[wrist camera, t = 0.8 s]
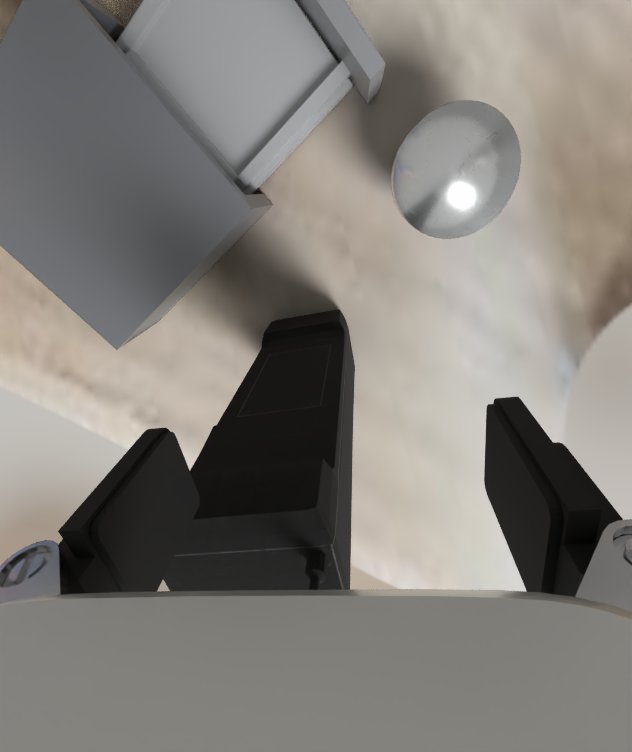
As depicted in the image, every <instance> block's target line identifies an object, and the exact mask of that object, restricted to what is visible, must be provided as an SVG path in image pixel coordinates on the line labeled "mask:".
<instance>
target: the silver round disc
mask: <svg viewBox="0 0 632 752" xmlns="http://www.w3.org/2000/svg"><path fill="white" fill-rule="evenodd" d="M520 163H521V154H520V146H519V141H518V138H517V135H516V132H515V130H514V128H513V126H512V125H511V123H510V122H509V120H508V119H507V118H506V117H505V116H504V115H503V114H502V113H501V112H500V111H499V110H497V109H496V108H494V107H492V106H490V105H488V104H486V103H482V102H479V101H472V100H464V101H456V102H452V103H449V104H446V105H443V106H441V107H439V108H437V109H435V110H434V111H432V112H430V113H429V114H427V115H426V116H425V117H424V118H423V119H422V120H420V121H419V122H418V123H417V125H416V126H415V127H414V128H413V129H412V130H411V131H410V132H409V133H408V135H407V136H406V137H405V139H404V140H403V142H402V144H401V145H400V147H399V149H398V151H397V154H396V156H395V159H394V163H393V167H392V174H391V188H392V195H393V198H394V202H395V204H396V206H397V209H398V210H399V212H400V214H401V215H402V217H403V218H404V219H405V220H406V221H407V222H408V223H409V224H410V225H411V226H413V227H414V228H416V229H417V230H419V231H420V232H422V233H424V234H426V235H428V236H432V237H435V238H442V239H452V238H459V237H463V236H466V235H469V234H472V233H474V232H476V231H478V230H480V229H481V228H483V227H484V226H486V225H487V224H488V223H490V222H491V221H492V220H493V219H494V218H495V217H496V216H497V215H498V214H499V213H500V212H501V211H502V209H503V208H504V207H505V205H506V204H507V202H508V201H509V199H510V197H511V195H512V193H513V191H514V189H515V186H516V183H517V180H518V176H519V172H520Z"/></svg>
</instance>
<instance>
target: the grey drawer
mask: <svg viewBox="0 0 632 752" xmlns="http://www.w3.org/2000/svg"><path fill="white" fill-rule="evenodd" d="M296 1H297V2H298V4H299V5H300V7H301V8H302V10H303V11H304V13H305V14H306V15H307V17H308V18H309V20H310V21H311V23H312V24H313V26H314V27H315V29H316V30H317V31H318V33H319V34H320V36H321V37H322V39H323V40H324V42H325V43H326V45H327V46H328V48H329V49H330V50H331V52H332V53H333V55H334V56H335V58H336V59H337V61H338V62H339V64H338V63H337V61H336V60H335V58H334V57H333V56H332V54H331V53H330V51H329V50H328V48H327V47H326V45H325V44H324V42H323V41H322V40H321V38H320V37H319V35H318V34H317V32H316V31H315V29H314V28H313V26H312V25H311V24H310V22H309V21H308V19H307V18H306V16H305V15H304V13H303V12H302V11H301V9H300V8H299V6H298V5H297V3H296V2H295V0H142V2H141V4H140V5H139V7H138V8H137V10H136V11H135V13H134V15H133V16H132V18H131V19H130V21H129V22H128V24H127V26H126V27H125V29H124V30H123V32H122V33H121V35H120V36H119V38H118V40H117V41H116V44H117V45H118V46H119V48H120V49H121V50H122V51H123V52H124V53H125V55H126V56H127V57H128V58H129V59H130V61H131V62H132V63H133V64H134V65H135V66H136V68H137V69H138V70H139V71H140V72H141V73H142V75H143V76H144V77H145V78H146V79H147V81H148V82H149V83H150V84H151V85H152V86H153V88H154V89H155V90H156V91H157V92H158V93H159V95H160V96H161V97H162V98H163V99H164V101H165V102H166V103H167V104H168V105H169V106H170V108H171V109H172V110H173V111H174V112H175V113H176V115H177V116H178V117H179V118H180V119H181V121H182V122H183V123H184V124H185V125H186V126H187V128H188V129H189V130H190V131H191V132H192V133H193V135H194V136H195V137H196V138H197V139H198V141H199V142H200V143H201V144H202V145H203V146H204V148H205V149H206V150H207V151H208V152H209V153H210V155H211V156H212V157H213V158H214V159H215V161H216V162H217V163H218V164H219V165H220V166H221V168H222V169H223V170H224V171H225V172H226V173H227V175H228V176H229V177H230V178H231V179H232V180H233V182H234V183H235V184H236V185H237V186H238V188H239V189H240V190H241V191H242V192H243V193H244V195H252V194H253V193H254V192H255V191H256V190H257V189H258V188H259V187H260V186H261V185H262V183H263V182H264V181H265V180H266V179H267V178H268V177H269V176H270V175H271V174H272V173H273V172H274V171H275V170H276V169H277V168H278V166H279V165H280V164H281V163H282V162H283V161H284V160H285V159H286V158H287V157H288V156H289V155H290V154H291V153H292V152H293V151H294V149H295V148H296V147H297V146H298V145H299V144H300V143H301V142H302V141H303V140H304V139H305V138H306V137H307V136H308V135H309V134H310V132H311V131H312V130H313V129H314V128H315V127H316V126H317V125H318V124H319V123H320V122H321V121H322V120H323V119H324V118H325V117H326V115H327V114H328V113H329V112H330V111H331V110H332V109H333V108H334V107H335V106H336V105H337V104H338V103H339V102H340V101H341V100H342V98H343V97H344V96H345V95H346V94H347V93H348V92H349V91H350V90H351V89H352V88H353V85H352V83H351V82H350V80H351V81H352V82H353V84H354V85H355V87H356V88H357V90H358V91H359V93H360V94H361V96H362V97H363V98H364V100H365V101H366V103H367V104H368V103H369V101H370V100H371V99H372V98H373V97H374V96H375V95H376V94H377V93H378V92H379V90H380V86H381V82H382V78H383V73H384V69H385V65H386V63H385V62H384V60H383V58H382V57H381V55H380V54H379V52H378V51H377V49H376V48H375V46H374V45H373V43H372V42H371V40H370V38H369V37H368V35H367V34H366V32H365V31H364V29H363V28H362V26H361V25H360V23H359V22H358V20H357V18H356V17H355V15H354V14H353V12H352V11H351V9H350V8H349V6H348V5H347V3H346V2H345V0H296ZM348 78H350V80H349V79H348Z"/></svg>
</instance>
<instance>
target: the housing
mask: <svg viewBox="0 0 632 752" xmlns="http://www.w3.org/2000/svg"><path fill="white" fill-rule="evenodd" d="M124 29H125V26H124V25H123V24H122V23H121V21H120V20H119V19H118V18H117V17H116V15H114V14H113V13H112V12H110V11H109V10H107V9H106V8H105V7H103V6H102V5H100V4H99V3H98V2H96V1H95V0H22V2H21V4H20V6H19V8H18V10H17V12H16V14H15V15H14V17H13V19H12V21H11V23H10V25H9V27H8V29H7V31H6V33H5V35H4V37H3V39H2V41H1V43H0V246H1V247H3V248H4V249H5V250H6V251H7V252H8V253H9V254H10V255H11V256H13V257H14V258H15V259H16V260H17V261H18V262H19V263H20V264H22V265H23V266H24V267H25V268H26V269H27V270H28V271H29V272H30V273H32V274H33V275H34V276H35V277H36V278H37V279H38V280H39V281H40V282H42V283H43V284H44V285H45V286H46V287H47V288H48V289H49V290H51V291H52V292H53V293H54V294H55V295H56V296H57V297H58V298H59V299H61V300H62V301H63V302H64V303H65V304H66V305H67V306H68V307H69V308H71V309H72V310H73V311H74V312H75V313H76V314H77V315H78V316H80V317H81V318H82V319H83V320H84V321H85V322H86V323H87V324H88V325H90V326H91V327H92V328H93V329H94V330H95V331H96V332H97V333H99V334H100V335H101V336H102V337H103V338H104V339H105V340H106V341H107V342H109V343H110V344H111V345H112V346H113V347H114V348H115V349H116V350H117V349H119V348H120V347H122V346H123V345H125V344H126V343H128V342H129V341H131V340H132V339H134V338H135V337H137V336H138V335H140V334H141V333H142V332H144V331H145V330H147V329H148V328H150V327H151V326H153V325H154V324H156V323H157V322H158V321H159V320H160V319H161V318H162V317H163V316H164V315H165V314H166V313H167V312H168V311H169V310H170V309H171V308H172V307H173V306H174V305H175V304H176V303H177V302H178V301H179V300H180V299H181V298H182V297H183V296H184V295H185V294H186V293H187V292H188V291H189V290H190V289H191V288H192V287H193V286H194V285H195V284H196V283H197V281H198V280H199V279H200V278H201V277H202V276H203V275H204V274H205V273H206V272H207V271H208V270H209V269H210V268H211V267H212V266H213V265H214V264H215V263H216V262H217V261H218V260H219V259H220V258H221V257H222V256H223V255H224V254H225V253H226V252H227V251H228V250H229V249H230V248H231V247H232V246H233V245H234V244H235V243H236V242H237V241H238V240H239V239H240V238H241V237H242V236H243V235H244V234H245V233H246V232H247V231H248V230H249V229H250V228H251V226H252V225H253V224H254V223H255V222H256V221H257V220H258V219H259V218H260V217H261V216H262V215H263V214H264V213H265V212H266V211H267V210H268V209H269V208H270V207H271V206H272V205H273V204H272V203H271V202H270V200H269V199H268V198H267V197H266V196H265V194H252V195H244V193H243V192H242V191H241V190H240V189H239V188H238V186H237V185H236V184H235V183H234V182H233V180H232V179H231V178H230V177H229V176H228V175H227V173H226V172H225V171H224V170H223V169H222V168H221V166H220V165H219V164H218V163H217V162H216V161H215V159H214V158H213V157H212V156H211V155H210V153H209V152H208V151H207V150H206V149H205V148H204V146H203V145H202V144H201V143H200V142H199V141H198V139H197V138H196V137H195V136H194V135H193V133H192V132H191V131H190V130H189V129H188V128H187V126H186V125H185V124H184V123H183V122H182V121H181V119H180V118H179V117H178V116H177V115H176V113H175V112H174V111H173V110H172V109H171V108H170V106H169V105H168V104H167V103H166V102H165V101H164V99H163V98H162V97H161V96H160V95H159V93H158V92H157V91H156V90H155V89H154V88H153V86H152V85H151V84H150V83H149V82H148V81H147V79H146V78H145V77H144V76H143V75H142V73H141V72H140V71H139V70H138V69H137V68H136V66H135V65H134V64H133V63H132V62H131V61H130V59H129V58H128V57H127V56H126V55H125V53H124V52H123V51H122V50H121V49H120V48H119V46H118V45H117V44H116V41H117V40H118V38H119V36H120V35H121V33H122V32H123V30H124Z"/></svg>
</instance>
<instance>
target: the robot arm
mask: <svg viewBox="0 0 632 752" xmlns="http://www.w3.org/2000/svg"><path fill="white" fill-rule="evenodd" d="M484 481H485V488H486V492H487V495H488V497H489V500H490V502H491V505H492V507H493V510H494V512H495V514H496V517H497V519H498V522H499V524H500V527H501V529H502V532H503V534H504V536H505V539H506V541H507V544H508V546H509V549H510V551H511V554H512V556H513V558H514V561H515V563H516V566H517V568H518V571H519V573H520V575H521V578H522V580H523V583H524V585H525V588H526V590H527V592H522V591H504V590H438V589H394V590H393V589H388V590H236V591H165V592H163V591H162V592H157V590H158V588H159V586H160V584H161V582H162V580H163V578H164V576H165V574H166V572H167V570H168V568H169V566H170V564H171V562H172V560H173V558H174V556H175V554H176V552H177V550H178V548H179V546H180V544H181V542H182V540H183V538H184V536H185V534H186V532H187V530H188V528H189V526H190V524H191V522H192V520H193V518H194V516H195V514H196V512H197V510H198V507H199V504H200V497H199V494H198V491H197V489H196V486H195V484H194V481H193V478H192V476H191V473H190V471H189V468H188V466H187V463H186V461H185V458H184V456H183V453H182V451H181V448H180V446H179V443H178V441H177V438H176V436H175V434H174V433H173V432H170V431H169V430H168V429H167V428H156V429H148V430H146V431H145V432H144V433H143V434H142V435H141V437H140V438H139V439H138V440H137V441H136V442H135V444H134V445H133V446H132V447H131V448H130V449H129V450H128V452H127V453H126V454H125V455H124V456H123V457H122V459H121V460H120V461H119V462H118V463H117V464H116V465H115V466H114V468H113V469H112V470H111V471H110V472H109V473H108V475H107V476H106V477H105V478H104V479H103V480H102V481H101V483H100V484H99V485H98V486H97V487H96V488H95V489H94V491H93V492H92V493H91V494H90V495H89V496H88V497H87V499H86V500H85V501H84V502H83V503H82V504H81V506H80V507H79V508H78V509H77V510H76V511H75V512H74V514H73V515H72V516H71V517H70V518H69V519H68V520H67V522H66V523H65V524H64V525H63V526H62V527H61V528H60V530H59V531H58V532H59V533H60V535H61V536H62V538H63V540H62V541H61V542H60V543H59V545H58V544H57V543H56V542H54V541H50V540H45V541H40V542H36V543H33V544H31V545H29V546H27V547H25V548H23V549H21V550H20V551H18V552H16V553H15V554H13V555H12V556H11V557H10V558H8V559H7V560H6V561H5V562H4V563H3V564H2V565H1V566H0V752H632V520H631V519H629V520H623V519H622V518H621V517H620V515H619V514H618V513H617V511H616V510H615V509H614V508H613V506H612V505H611V504H610V502H609V501H608V500H607V499H606V498H605V496H604V495H603V493H602V492H601V491H600V490H599V488H598V487H597V486H596V485H595V483H594V482H593V481H592V479H591V478H590V477H589V476H588V474H587V473H586V472H585V471H584V469H583V468H582V467H581V465H580V464H579V463H578V462H577V460H576V459H575V458H574V456H572V454H571V453H570V452H569V450H568V449H567V448H566V447H565V446H564V445H563V444H562V443H553V442H552V441H551V440H550V438H549V437H548V436H547V434H546V433H545V432H544V430H543V429H542V427H541V426H540V425H539V423H538V422H537V421H536V419H535V418H534V417H533V415H532V414H531V413H530V411H529V410H528V409H527V407H526V406H525V405H524V403H523V402H522V401H521V399H520V398H519V397H509V398H497V399H495V400H494V404H489V405H487V415H486V446H485V477H484Z"/></svg>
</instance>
